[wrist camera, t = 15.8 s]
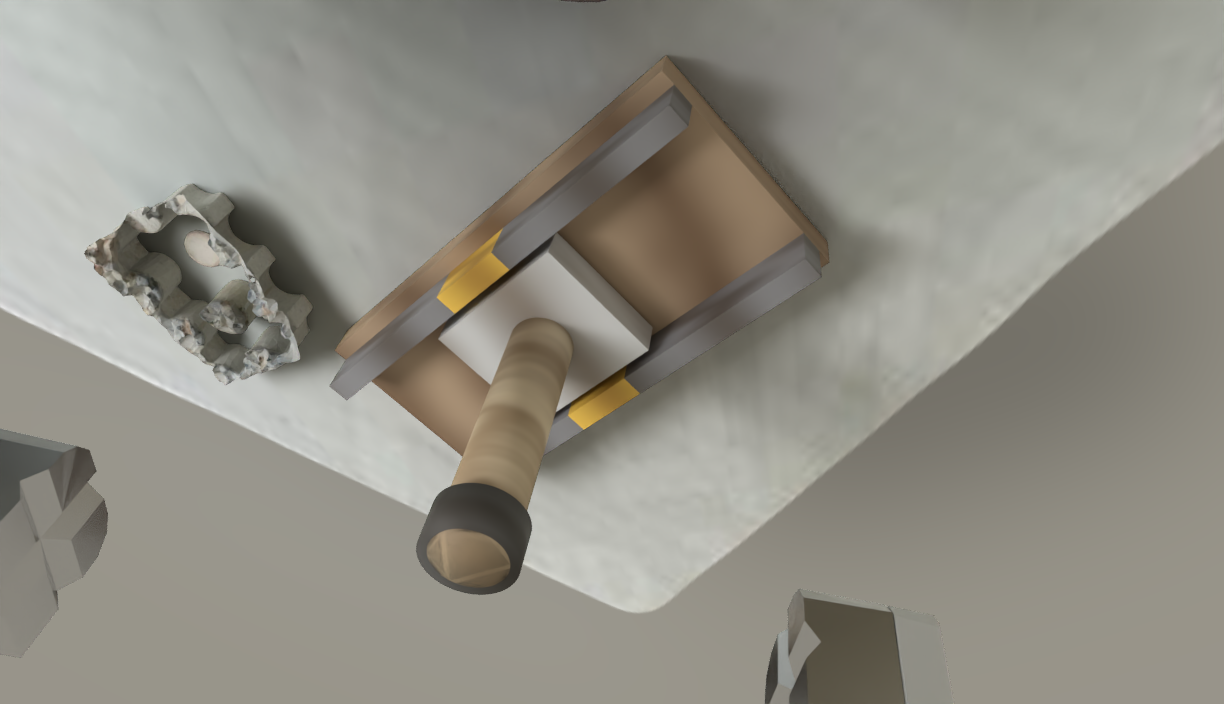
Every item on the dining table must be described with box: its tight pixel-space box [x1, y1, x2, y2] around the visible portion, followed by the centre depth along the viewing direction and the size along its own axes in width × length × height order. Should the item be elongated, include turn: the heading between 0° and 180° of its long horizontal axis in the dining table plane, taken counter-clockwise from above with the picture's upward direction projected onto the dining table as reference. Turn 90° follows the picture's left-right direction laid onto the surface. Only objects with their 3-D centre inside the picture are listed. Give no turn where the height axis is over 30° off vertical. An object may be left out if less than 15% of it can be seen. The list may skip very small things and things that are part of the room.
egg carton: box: [84, 184, 313, 385], centre depth 50 cm, size 11×8×4 cm
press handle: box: [416, 232, 653, 595], centre depth 41 cm, size 8×7×16 cm
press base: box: [330, 56, 829, 456], centre depth 47 cm, size 24×12×4 cm, turn 133°
